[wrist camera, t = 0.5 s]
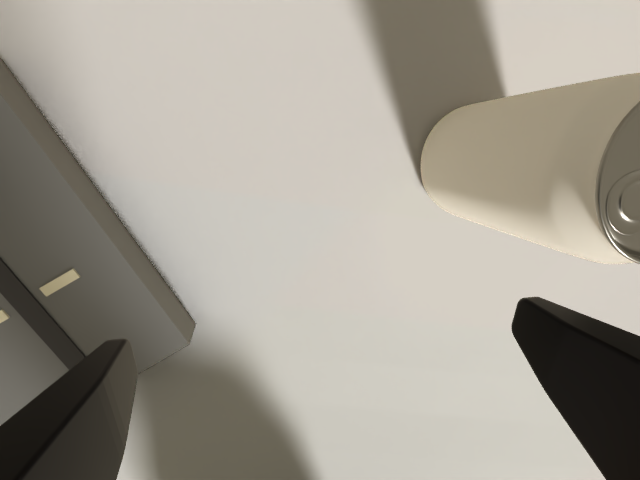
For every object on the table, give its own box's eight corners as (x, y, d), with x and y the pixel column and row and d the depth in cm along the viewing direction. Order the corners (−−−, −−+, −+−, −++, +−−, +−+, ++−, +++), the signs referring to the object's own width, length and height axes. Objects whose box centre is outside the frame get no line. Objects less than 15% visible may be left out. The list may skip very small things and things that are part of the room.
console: (195, 324, 23) (189, 345, 20) (43, 413, 22) (18, 445, 20) (0, 58, 18) (-38, 44, 16) (-193, 165, 18) (-263, 169, 15)
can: (396, 150, 22) (549, 154, 11) (486, 80, 22) (737, 10, 11) (452, 236, 24) (634, 318, 13) (535, 172, 24) (795, 196, 13)
